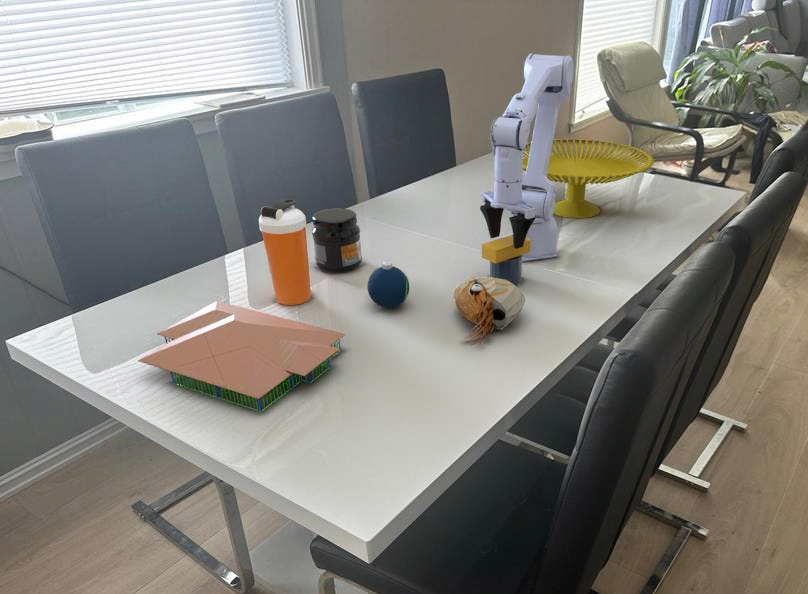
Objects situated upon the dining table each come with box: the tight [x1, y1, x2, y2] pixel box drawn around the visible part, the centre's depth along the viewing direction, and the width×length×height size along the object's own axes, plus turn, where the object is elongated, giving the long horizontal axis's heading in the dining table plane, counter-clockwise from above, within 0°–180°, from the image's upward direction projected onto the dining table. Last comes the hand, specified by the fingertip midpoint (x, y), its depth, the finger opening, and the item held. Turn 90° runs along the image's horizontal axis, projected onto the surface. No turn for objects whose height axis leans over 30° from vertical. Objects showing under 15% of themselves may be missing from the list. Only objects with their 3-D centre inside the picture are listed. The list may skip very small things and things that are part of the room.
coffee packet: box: [481, 234, 531, 264], centre depth 148 cm, size 10×4×3 cm, turn 130°
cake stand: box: [523, 138, 655, 219], centre depth 189 cm, size 40×40×15 cm
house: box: [137, 300, 346, 412], centre depth 119 cm, size 23×33×8 cm
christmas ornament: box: [366, 260, 410, 309], centre depth 138 cm, size 8×8×10 cm
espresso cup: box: [488, 255, 523, 286], centre depth 150 cm, size 7×7×6 cm
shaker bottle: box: [258, 198, 312, 306], centre depth 138 cm, size 9×9×20 cm
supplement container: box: [311, 207, 363, 274], centre depth 155 cm, size 10×10×12 cm
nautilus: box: [453, 276, 526, 347], centre depth 132 cm, size 8×22×15 cm
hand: (506, 242), depth 147 cm, fingers open, 7 cm apart
